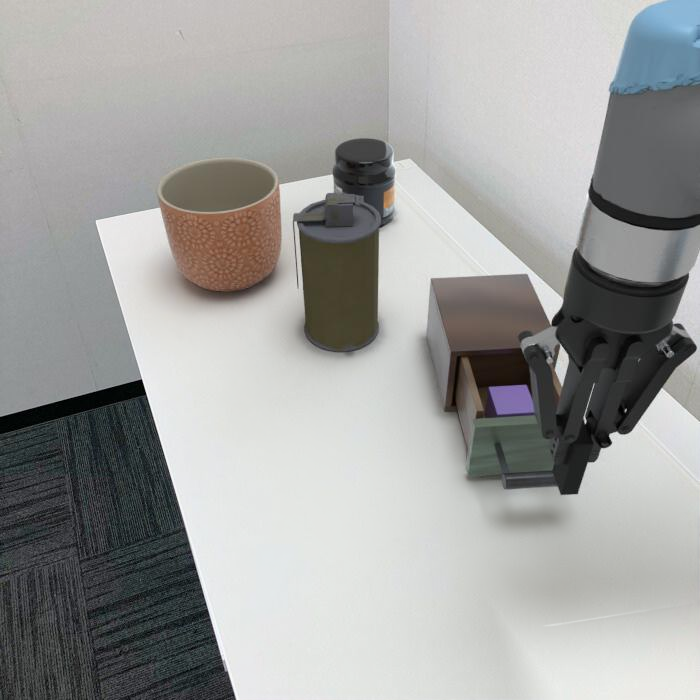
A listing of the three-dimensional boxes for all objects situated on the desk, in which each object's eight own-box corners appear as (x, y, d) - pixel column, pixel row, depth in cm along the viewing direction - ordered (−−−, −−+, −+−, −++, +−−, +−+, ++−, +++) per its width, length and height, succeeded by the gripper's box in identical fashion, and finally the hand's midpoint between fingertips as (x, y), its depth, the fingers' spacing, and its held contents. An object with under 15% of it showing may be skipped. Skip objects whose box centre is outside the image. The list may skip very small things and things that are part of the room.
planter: (173, 311, 102) (153, 218, 92) (177, 249, 114) (159, 161, 105) (290, 299, 104) (283, 207, 94) (281, 239, 116) (274, 152, 106)
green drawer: (587, 512, 73) (603, 462, 68) (478, 519, 73) (486, 469, 67) (537, 386, 88) (547, 337, 83) (446, 391, 87) (451, 342, 82)
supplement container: (403, 207, 124) (406, 142, 116) (380, 236, 117) (381, 169, 109) (349, 196, 128) (348, 132, 120) (323, 223, 120) (320, 157, 113)
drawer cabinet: (546, 405, 86) (560, 345, 80) (444, 411, 86) (450, 351, 79) (516, 331, 97) (527, 273, 91) (426, 336, 97) (430, 278, 91)
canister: (376, 304, 102) (378, 177, 89) (381, 351, 94) (384, 219, 82) (301, 307, 102) (292, 180, 89) (300, 353, 94) (290, 221, 81)
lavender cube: (531, 439, 79) (537, 412, 76) (492, 442, 79) (497, 414, 76) (521, 411, 83) (526, 384, 80) (483, 414, 82) (488, 386, 80)
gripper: (702, 224, 50) (621, 446, 66) (521, 231, 50) (483, 454, 65) (754, 285, 45) (653, 513, 60) (551, 294, 44) (501, 522, 59)
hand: (564, 482), depth 62 cm, fingers closed
